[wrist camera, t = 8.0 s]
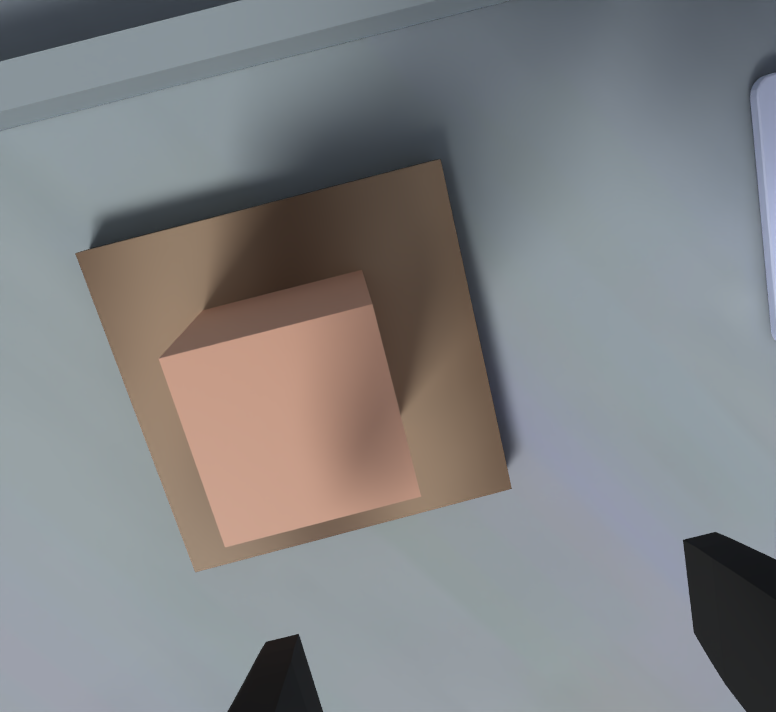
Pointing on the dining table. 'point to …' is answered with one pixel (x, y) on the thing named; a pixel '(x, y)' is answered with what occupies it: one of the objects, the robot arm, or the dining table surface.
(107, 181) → the dining table surface
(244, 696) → the robot arm
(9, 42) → the dining table surface
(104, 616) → the dining table surface
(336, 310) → the terracotta block
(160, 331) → the walnut pad
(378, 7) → the low wall
